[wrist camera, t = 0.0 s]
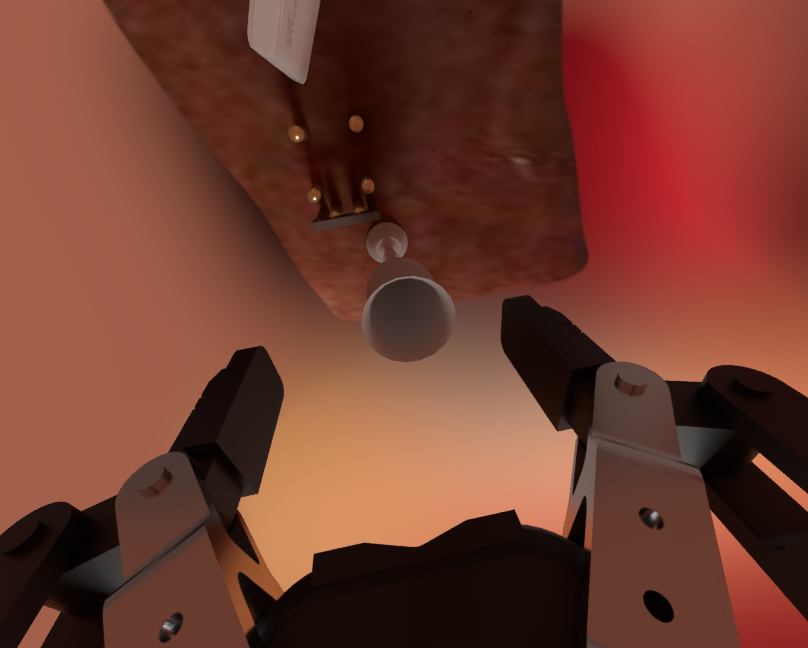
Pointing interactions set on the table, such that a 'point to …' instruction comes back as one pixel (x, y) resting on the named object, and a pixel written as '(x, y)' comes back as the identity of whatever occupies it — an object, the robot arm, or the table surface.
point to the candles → (336, 215)
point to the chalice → (403, 301)
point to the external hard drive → (284, 33)
